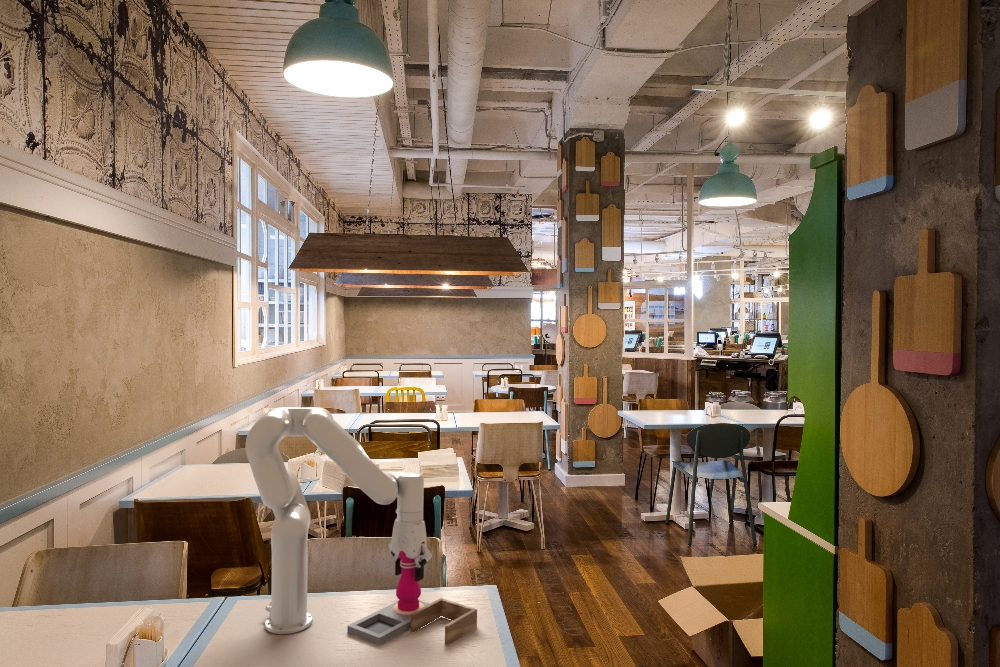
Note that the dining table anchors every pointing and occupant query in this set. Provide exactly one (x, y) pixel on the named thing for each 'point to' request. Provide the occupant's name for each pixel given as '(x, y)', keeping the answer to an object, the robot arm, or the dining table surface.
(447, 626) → the wooden u-shaped frame
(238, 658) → the dining table surface
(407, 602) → the pepper mill
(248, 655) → the dining table surface
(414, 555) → the robot arm
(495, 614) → the dining table surface
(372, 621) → the gray portable music player
